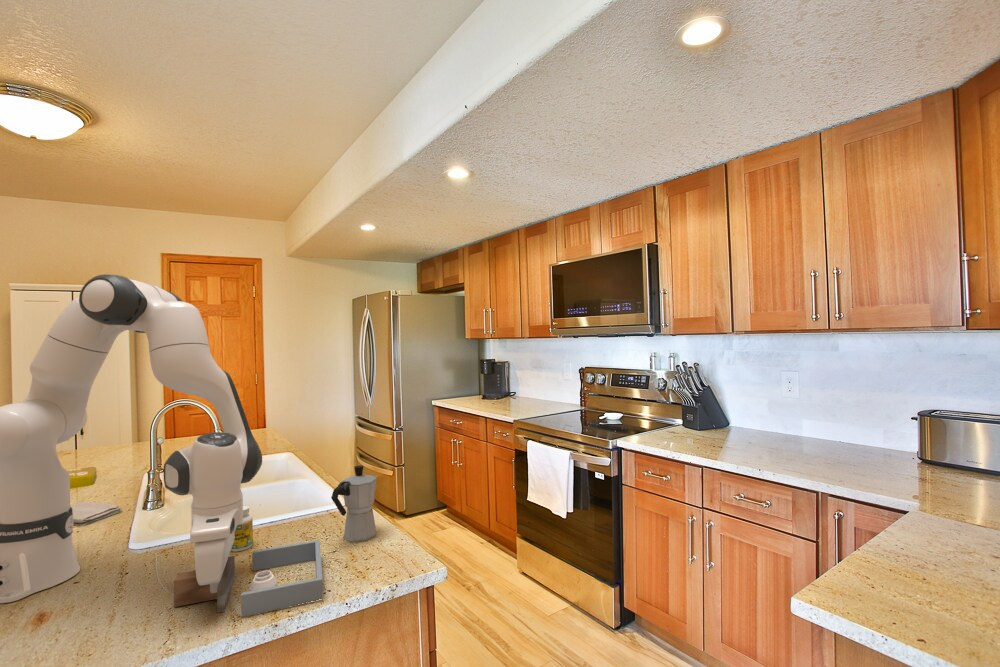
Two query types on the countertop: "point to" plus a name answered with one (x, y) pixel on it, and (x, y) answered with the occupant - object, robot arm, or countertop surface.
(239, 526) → the supplement bottle
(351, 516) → the coffee maker
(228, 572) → the scraper
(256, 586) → the white jar
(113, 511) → the washcloth
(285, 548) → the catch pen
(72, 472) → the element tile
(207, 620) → the countertop surface
